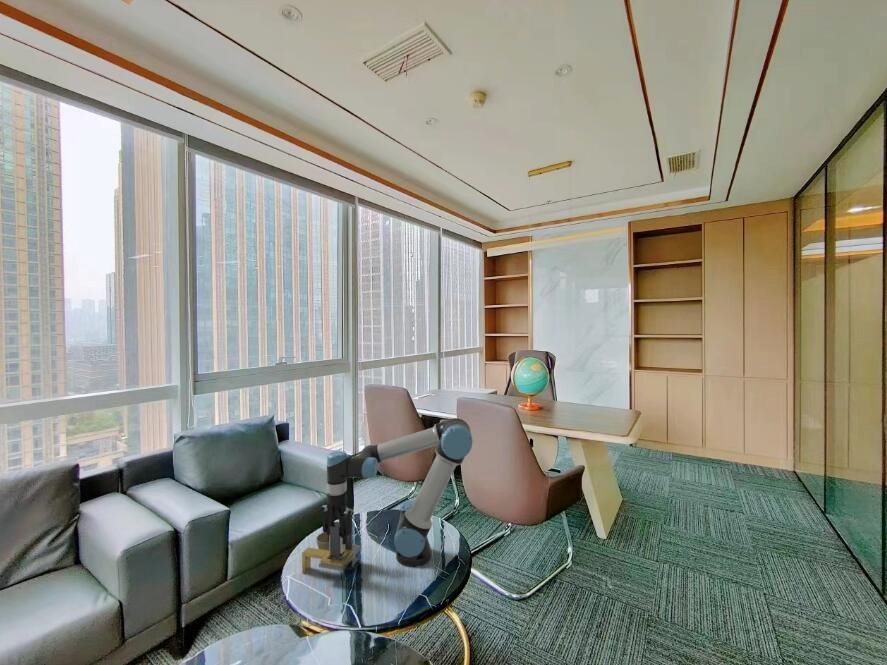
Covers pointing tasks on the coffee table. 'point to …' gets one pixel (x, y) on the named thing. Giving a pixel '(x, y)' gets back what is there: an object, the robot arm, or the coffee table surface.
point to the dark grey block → (335, 540)
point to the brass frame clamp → (326, 562)
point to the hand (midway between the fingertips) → (337, 550)
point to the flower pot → (323, 541)
